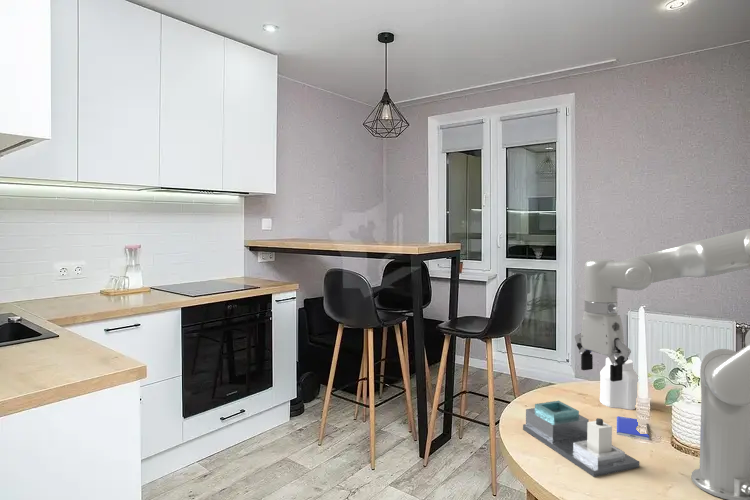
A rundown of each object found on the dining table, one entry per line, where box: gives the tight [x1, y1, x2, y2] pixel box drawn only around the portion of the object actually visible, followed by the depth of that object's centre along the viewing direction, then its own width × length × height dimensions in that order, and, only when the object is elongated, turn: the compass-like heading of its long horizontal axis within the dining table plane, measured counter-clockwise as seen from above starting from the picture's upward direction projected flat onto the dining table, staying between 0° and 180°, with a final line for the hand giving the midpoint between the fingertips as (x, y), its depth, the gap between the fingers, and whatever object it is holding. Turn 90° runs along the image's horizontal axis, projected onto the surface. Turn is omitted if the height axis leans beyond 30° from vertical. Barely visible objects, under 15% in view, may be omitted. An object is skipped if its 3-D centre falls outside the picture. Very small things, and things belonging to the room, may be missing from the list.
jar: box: [599, 356, 639, 411], centre depth 157 cm, size 12×10×15 cm
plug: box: [587, 418, 613, 454], centre depth 119 cm, size 4×4×9 cm
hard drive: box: [616, 416, 650, 441], centre depth 138 cm, size 2×8×12 cm
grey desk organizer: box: [522, 400, 640, 478], centre depth 127 cm, size 28×14×8 cm, turn 18°
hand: (601, 374), depth 118 cm, fingers open, 9 cm apart
